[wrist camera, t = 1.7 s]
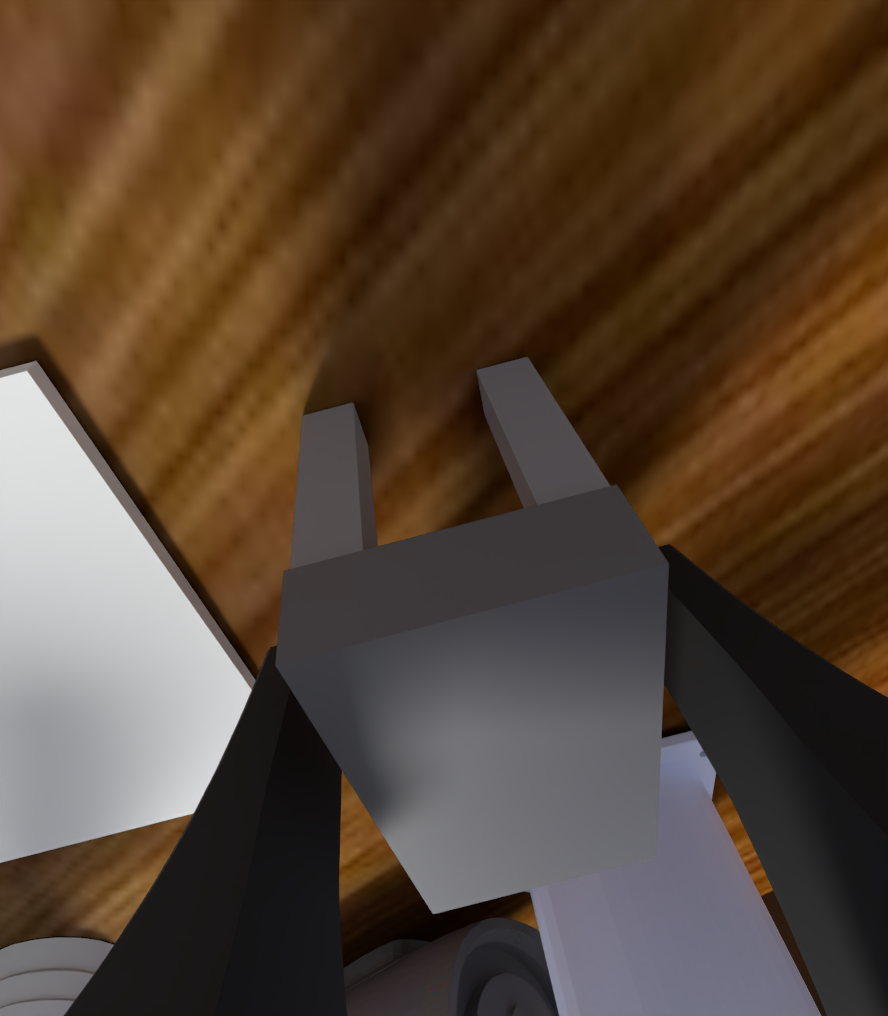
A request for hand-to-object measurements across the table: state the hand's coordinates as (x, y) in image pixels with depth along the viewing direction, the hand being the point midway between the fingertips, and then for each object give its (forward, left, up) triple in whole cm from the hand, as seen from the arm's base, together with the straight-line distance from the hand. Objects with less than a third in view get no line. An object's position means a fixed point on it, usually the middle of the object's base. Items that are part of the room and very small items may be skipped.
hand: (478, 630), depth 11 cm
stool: (0, 0, -3) cm, 3 cm away
